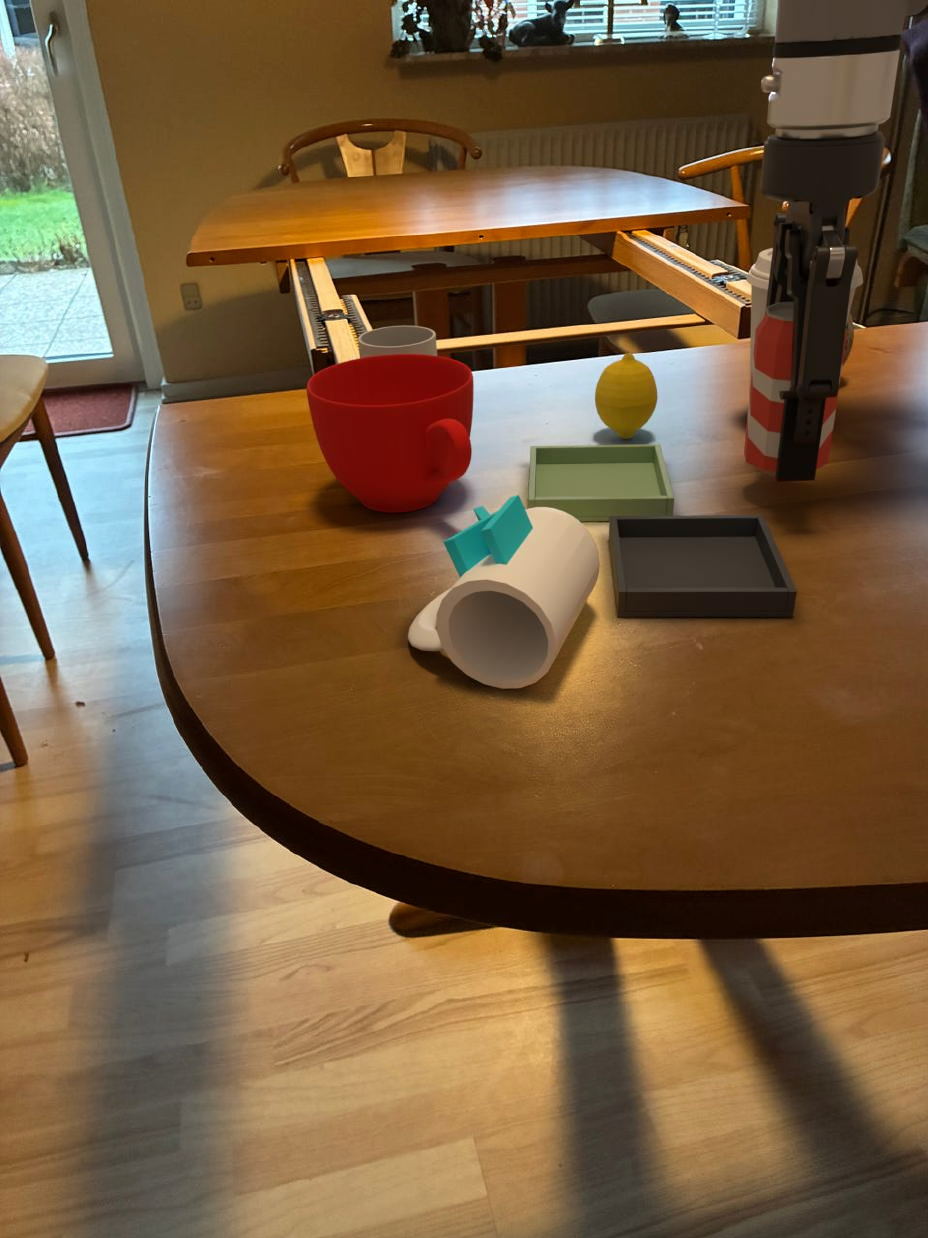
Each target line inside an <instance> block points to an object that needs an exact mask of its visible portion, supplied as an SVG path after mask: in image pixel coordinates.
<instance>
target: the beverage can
mask: <svg viewBox="0 0 928 1238" xmlns="http://www.w3.org/2000/svg"><path fill="white" fill-rule="evenodd" d="M793 313H794V302H779V303H776V304H773V305H771V306H768V307H766V315H765V317H764V318H763V319H762V321H761V322H760V324H759V325H758V327H757V328H756V333H755V343H754V354H753V364H752V374H751V385H750V395H749V394H748V407H747V416H746V417H747V418H746V427H745V428H746V429H745V438H744V450H743V454H744V460H745V463H747V464H748V465H750V466H753V467H754V469H755V470H756V471H758V472H761V473H762V474H765V475H766V476H771V477H775V476H776V468H777V459H778V451H779V442H780V434H781V425H782V416H783V408H784V400H781V399H780V394H779V391H789V389H790V387H791V362H792V337H793ZM846 337H847V335H846V332H845V338H844V346H843V354H842V363H841V371H840V379H839V386H841V385H840V384H841V377H842V371H843V370H842V369H843V367H842V364H843V358H844V351H845V344H846ZM839 392H840V390H839V391H838V393H839ZM838 397H839V394H838V395H837V396H836V397H830V398H826V403H825V410H824V418H823V425H822V432H821V439H820V446H819V453H818V460H817V467H816V471H817V470H819V469H820V468H822V467H824V466H825V465H827V464H829V459H830V452H831V447H832V439H833V432H834V425H835V418H836V411H837V405H838Z"/></svg>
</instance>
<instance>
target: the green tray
mask: <svg viewBox="0 0 928 1238" xmlns="http://www.w3.org/2000/svg"><path fill="white" fill-rule="evenodd" d="M529 452H530V453H529V474H528V497H527V509H529V508H534V507H548V508H554V509H557V510H561V511H564V512H566V513H568V514H570V515H572V516H573V517H574V518H576V519H577V520H579V521H580V522H609V519H610V516H616V517H617V516H674V506H675V496H674V493H673V489H672V484H671V480H670V477H669V473H668V469H667V466H666V461H665V458H664V455H663V451H662V446H661V444H660V443H648V444H647V443H645V444H643V443H642V444H641V443H639V444H637V443H636V444H581V445H579V444H578V445H577V444H576V445H571V444H570V445H531V446H530V451H529Z"/></svg>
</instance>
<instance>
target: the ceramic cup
mask: <svg viewBox="0 0 928 1238" xmlns="http://www.w3.org/2000/svg"><path fill="white" fill-rule="evenodd" d="M474 388H475V387H474V376H473V371H472V369H471V368H470V367H469V366H468V365H467V364H465V363H463V362H461V361H459V360H456V359H453V358H450V357H445V356H440V355H437V356H433V355H424V354H391V355H379V356H371V357H364V358H360V357H359V358H354V359H349V360H346V361H342V362H339V363H336V364H333V365H330V366H328V367H325V368H323V369H322V370H320V371H317V372H316V373H315V374H313V375H312V376H311V377H310V378H309V380H308V381H307V384H306V397H307V403H308V408H309V413H310V417H311V422H312V426H313V430H314V433H315V434H314V435H315V437H316V440H317V443H318V446H319V449H320V451H321V454H322V456H323V458H324V460H325V462H326V464H327V466H328V468H329V470H330V471H331V473H332V474H333V476H334V477H335V478H336V480H337V481H338V482H339V483H340V484H341V485H342V486H343V487H344V488H345V489H346V490H347V491H348V492H349V493H350V494H351V495H352V496H354V497H355V498H356V499H357V500H358V501H359V502H361V504H362V505H363V506H364V507H366V508H367V509H369V510H373V511H375V512H376V511H377V512H379V513H390V514H394V513H395V514H397V513H408V512H413V511H417V510H421V509H424V508H427V507H429V506H431V505H432V504H434V503H435V502H436V501H437V500H439V498H440V496H441V494H442V493H443V492H444V491H445V490H446V489H447V487H448V486H449V485H450V484H451V483H452V482H455V481H457V480H460V478H462V477H463V476H464V475H465V474H466V473H467V471H468V470H469V467H470V465H471V461H472V455H473V453H472V452H473V451H472V442H471V432H472V426H473V414H474V391H475V390H474Z"/></svg>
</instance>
